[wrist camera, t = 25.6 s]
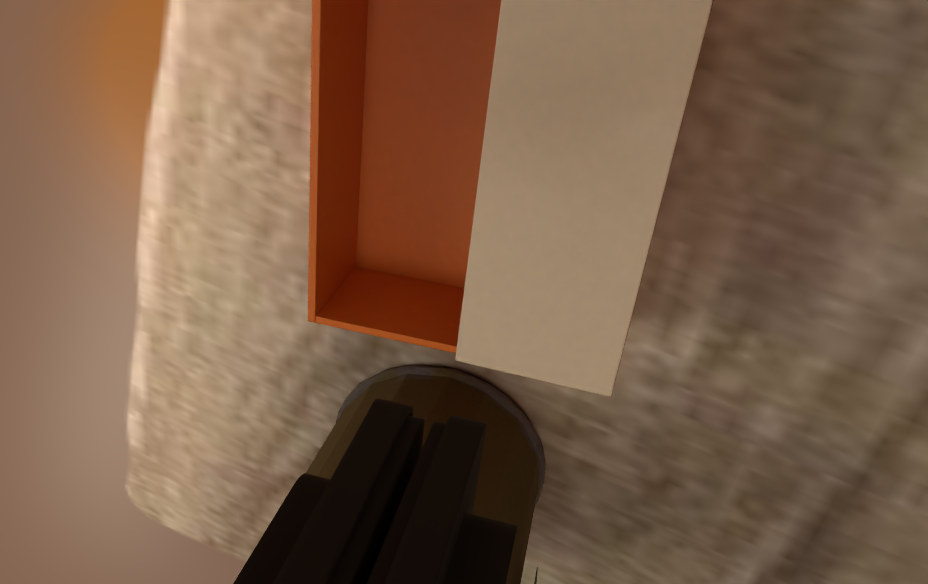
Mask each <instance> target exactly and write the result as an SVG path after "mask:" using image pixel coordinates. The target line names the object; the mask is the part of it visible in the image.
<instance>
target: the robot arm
mask: <svg viewBox="0 0 928 584" xmlns="http://www.w3.org/2000/svg"><path fill="white" fill-rule="evenodd" d="M424 423H425V422H424V419H423V418H418V417H414V416H413V407H412V406H410V405H406V404H401V403H397V402H393V401H388V400H384V399H379V398H377V399H375V400H374V402H373V403H372V405H371V407H370V409H369V411H368V412H367V414H366V416H365V418H364V420H363V421H362V423H361V425H360V427H359V429H358V430H357V432H356V434H355V436H354V438H353V439H352V441H351V443H350V445H349V447H348V448H347V450H346V452H345V454H344V456H343V458H342V459H341V461H340V463H339V465H338V467H337V468H336V470H335V472H334V474H333V476H332V477H331V479H327V478H323V477H318V476H314V475H310V474H306V473H304V474H303V475H302V476H300V477H299V479H298V480H297V481H296V483H295V484H294V485H293V487H292V489H291V490H290V492H289V494H288V495H287V497H286V499H285V500H284V502H283V503H282V505H281V507H280V508H279V510H278V512H277V513H276V515H275V516H274V518H273V520H272V521H271V523H270V525H269V526H268V528H267V530H266V531H265V533H264V534H263V536H262V538H261V539H260V541H259V543H258V544H257V546H256V548H255V549H254V551H253V552H252V554H251V556H250V557H249V559H248V561H247V562H246V564H245V565H244V567H243V569H242V570H241V572H240V574H239V575H238V577H237V579H236V581H235V582H234V583H233V584H506V580H507V575H508V570H509V566H510V561H511V556H512V551H513V546H514V541H515V536H516V531H517V525H513V524H509V523H505V522H501V521H497V520H493V519H489V518H485V517H481V516H477V515H473V508H474V502H475V496H476V490H477V483H478V477H479V471H480V465H481V459H482V452H483V446H484V440H485V434H486V426H487V424H486V423H484V422H480V421H476V420H471V419H467V418H462V417H458V416H454V415H450V417H449V419H448V421H447V424H444V423H440V422H436V421H435V422H434V423H433V425H432V427H431V429H430V432H429V434H428V437H427V439H426V441H425V444H424V446H423V449H422V443H423V433H424Z"/></svg>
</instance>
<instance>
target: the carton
mask: <svg viewBox="0 0 928 584" xmlns="http://www.w3.org/2000/svg"><path fill="white" fill-rule="evenodd" d="M712 4H713V3H712ZM500 7H501V0H312V52H311V129H310V207H309V284H308V321H310V322H316V323H319V324H324V325H328V326H333V327H338V328H342V329H347V330H351V331H356V332H361V333H365V334H370V335H375V336H379V337H384V338H388V339H393V340H398V341H402V342H407V343H411V344H416V345H421V346H425V347H430V348H435V349H439V350H444V351H448V352H453V353H456V350H457V342H458V334H459V326H460V319H461V311H462V303H463V295H464V287H465V280H466V272H467V264H468V256H469V248H470V241H471V233H472V225H473V217H474V210H475V202H476V194H477V186H478V178H479V171H480V163H481V155H482V147H483V139H484V132H485V124H486V116H487V108H488V101H489V93H490V85H491V77H492V69H493V62H494V54H495V46H496V38H497V30H498V23H499V15H500ZM711 8H712V7H711ZM710 11H711V10H710ZM709 15H710V14H709ZM708 19H709V18H708ZM707 23H708V22H707ZM706 27H707V26H706ZM705 31H706V30H705ZM704 35H705V34H704ZM703 39H704V38H703ZM702 43H703V42H702ZM701 46H702V45H701ZM700 50H701V49H700ZM699 54H700V53H699ZM698 58H699V57H698ZM697 62H698V61H697ZM696 66H697V65H696ZM695 70H696V69H695ZM694 74H695V73H694ZM693 77H694V76H693ZM692 81H693V80H692ZM691 85H692V84H691ZM690 89H691V88H690ZM689 93H690V92H689ZM688 97H689V96H688ZM687 101H688V100H687ZM686 105H687V104H686ZM684 112H685V111H684ZM683 116H684V115H683ZM682 120H683V119H682ZM681 124H682V123H681ZM680 128H681V127H680ZM679 132H680V131H679ZM678 136H679V135H678ZM676 143H677V142H676ZM675 147H676V146H675ZM674 151H675V150H674ZM673 155H674V154H673ZM672 159H673V158H672ZM671 163H672V162H671ZM670 167H671V166H670ZM669 171H670V170H669ZM667 178H668V177H667ZM666 182H667V181H666ZM665 186H666V185H665ZM664 190H665V189H664ZM663 194H664V193H663ZM662 198H663V197H662ZM661 202H662V201H661ZM659 209H660V208H659ZM658 213H659V212H658ZM657 217H658V216H657ZM656 221H657V220H656ZM655 225H656V224H655ZM654 229H655V228H654ZM653 233H654V232H653ZM651 240H652V239H651ZM650 244H651V243H650ZM649 248H650V247H649ZM648 252H649V251H648ZM647 256H648V255H647ZM646 260H647V259H646ZM645 264H646V263H645ZM642 275H643V274H642ZM641 279H642V278H641ZM640 283H641V282H640ZM639 287H640V286H639ZM638 291H639V290H638ZM637 295H638V294H637ZM636 299H637V298H636ZM634 306H635V305H634ZM633 310H634V309H633ZM632 314H633V313H632ZM631 318H632V317H631ZM630 322H631V321H630ZM629 326H630V325H629ZM628 330H629V329H628ZM625 341H626V340H625ZM624 345H625V344H624ZM623 349H624V348H623ZM622 353H623V352H622ZM621 357H622V356H621ZM620 361H621V360H620ZM617 372H618V371H617ZM616 376H617V375H616ZM615 380H616V379H615ZM614 384H615V383H614Z"/></svg>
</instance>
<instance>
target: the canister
mask: <svg viewBox="0 0 928 584" xmlns="http://www.w3.org/2000/svg"><path fill="white" fill-rule="evenodd" d="M377 398H379V399H384V400H388V401H393V402H397V403H401V404H406V405H410V406H412V407H413V416H414V417H418V418H423V419H424V422H425V423H424V433H423V443H422V449H423V446H424V444H425V441H426V439H427V437H428V434H429V432H430V429H431V427H432V425H433V423H434V422H435V421H436V422H440V423H444V424H447V421H448V419H449V417H450V415H454V416H458V417H462V418H467V419H471V420H476V421H480V422H484V423H486V424H487V426H486V434H485V440H484V446H483V452H482V459H481V465H480V471H479V477H478V483H477V490H476V496H475V502H474V508H473V515H477V516H481V517H485V518H489V519H493V520H497V521H501V522H505V523H509V524H513V525H517V531H516V536H515V541H514V546H513V551H512V556H511V561H510V566H509V570H508V575H507V580H506V584H520V582H521V577H522V572H523V566H524V561H525V555H526V550H527V545H528V539H529V534H530V528H531V523H532V518H533V512H534V507H535V504H536V502H537V501H538V499H539V496H540V493H541V489H542V486H543V483H544V474H545V460H544V454H543V449H542V446H541V443H540V440H539V438H538V436H537V435H536V433H535V432H534V430H533V428H532V426H531V424H530V423H529V421H528V419H527V417H526V415H525V414H524V413H523V412H522V411H521V410H520V409H519V408H518V407H517V406H516V405H515V404H514V403H513V402H512V401H511V400H510V399H509V398H508V397H507V396H506V395H504V394H503V393H501V392H500V391H499V390H497V389H496V388H494V387H493V386H491V385H489V384H488V383H486V382H485V381H482V380H480V379H478V378H475V377H473V376H471V375H468V374H466V373H464V372H461V371H459V370H457V369H451V368H443V367H435V366H427V365H410V366H403V367H397V368H392V369H387V370H385V371H383V372H381V373H379V374H377V375H375V376H373V377H372V378H370V379H368V380H366V381H364V382H362V383H360V384H359V385H358V386H357V387H356V388H355V390H354V391H353V392H352V393H351V394H350V395H349V396H348V397H347V398H346V400H345V401H344V403H343V405H342V407H341V409H340V410H339V412H338V417H337V421H336V424H335V426H334V428H333V429H332V431H331V433H330V434H329V436H328V437H327V439H326V441H325V442H324V444H323V446H322V447H321V449H320V451H319V452H318V454H317V456H316V457H315V459H314V461H313V462H312V464H311V466H310V467H309V469H308V470H307V472H306V474H310V475H314V476H318V477H323V478H327V479H331V477H332V476H333V474H334V472H335V470H336V468H337V467H338V465H339V463H340V461H341V459H342V458H343V456H344V454H345V452H346V450H347V448H348V447H349V445H350V443H351V441H352V439H353V438H354V436H355V434H356V432H357V430H358V429H359V427H360V425H361V423H362V421H363V420H364V418H365V416H366V414H367V412H368V411H369V409H370V407H371V405H372V403H373V402H374V400H375V399H377ZM537 569H538V567H537ZM536 581H537V571H536V577H535V583H534V584H536Z"/></svg>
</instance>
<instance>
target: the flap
mask: <svg viewBox="0 0 928 584" xmlns="http://www.w3.org/2000/svg"><path fill="white" fill-rule="evenodd" d="M712 3H713V0H501V7H500V15H499V23H498V30H497V38H496V46H495V54H494V62H493V69H492V77H491V85H490V93H489V101H488V108H487V116H486V124H485V132H484V139H483V147H482V155H481V163H480V171H479V178H478V186H477V194H476V202H475V210H474V217H473V225H472V233H471V241H470V248H469V256H468V264H467V272H466V280H465V287H464V295H463V303H462V311H461V319H460V326H459V334H458V342H457V350H456V358H455V360H456V361H459V362H464V363H468V364H472V365H476V366H481V367H485V368H489V369H494V370H498V371H502V372H506V373H511V374H515V375H519V376H524V377H528V378H532V379H536V380H541V381H545V382H549V383H554V384H558V385H562V386H566V387H571V388H575V389H579V390H584V391H588V392H592V393H596V394H601V395H605V396H609V397H611V395H612V391H613V387H614V383H615V379H616V375H617V371H618V368H619V364H620V360H621V356H622V352H623V348H624V344H625V340H626V337H627V333H628V329H629V325H630V321H631V317H632V313H633V309H634V305H635V302H636V298H637V294H638V290H639V286H640V282H641V278H642V274H643V271H644V267H645V263H646V259H647V255H648V251H649V247H650V243H651V239H652V236H653V232H654V228H655V224H656V220H657V216H658V212H659V208H660V205H661V201H662V197H663V193H664V189H665V185H666V181H667V177H668V174H669V170H670V166H671V162H672V158H673V154H674V150H675V146H676V142H677V139H678V135H679V131H680V127H681V123H682V119H683V115H684V111H685V108H686V104H687V100H688V96H689V92H690V88H691V84H692V80H693V76H694V73H695V69H696V65H697V61H698V57H699V53H700V49H701V45H702V42H703V38H704V34H705V30H706V26H707V22H708V18H709V14H710V10H711V7H712Z"/></svg>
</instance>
